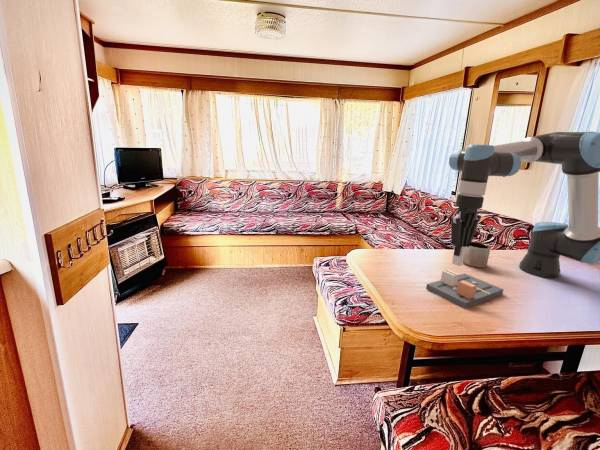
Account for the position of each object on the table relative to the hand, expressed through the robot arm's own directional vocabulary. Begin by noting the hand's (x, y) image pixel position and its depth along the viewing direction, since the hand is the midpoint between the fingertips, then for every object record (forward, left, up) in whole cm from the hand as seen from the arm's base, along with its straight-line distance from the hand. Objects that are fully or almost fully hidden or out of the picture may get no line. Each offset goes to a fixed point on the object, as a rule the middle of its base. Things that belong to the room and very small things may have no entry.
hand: (456, 264), depth 107 cm
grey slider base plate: (-11, -12, -16) cm, 23 cm away
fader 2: (-8, -4, -13) cm, 16 cm away
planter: (-31, -42, -16) cm, 55 cm away
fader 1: (-6, -14, -13) cm, 20 cm away
